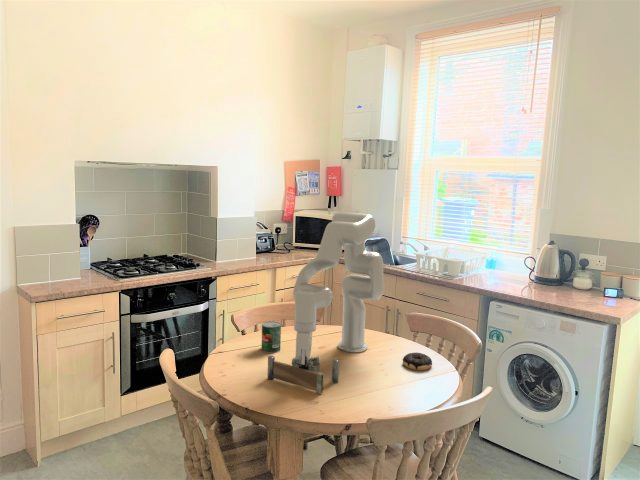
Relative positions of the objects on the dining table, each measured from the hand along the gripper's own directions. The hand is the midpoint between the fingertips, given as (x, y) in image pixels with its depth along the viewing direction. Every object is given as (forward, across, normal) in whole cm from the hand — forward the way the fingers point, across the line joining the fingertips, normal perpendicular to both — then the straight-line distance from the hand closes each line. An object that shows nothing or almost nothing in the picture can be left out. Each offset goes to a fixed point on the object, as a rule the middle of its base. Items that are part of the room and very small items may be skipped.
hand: (303, 375), depth 179 cm
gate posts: (+3, -3, 0) cm, 4 cm away
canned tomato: (+3, -32, -16) cm, 36 cm away
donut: (+4, -23, +43) cm, 49 cm away
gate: (+3, +3, -2) cm, 4 cm away
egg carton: (+4, -14, 0) cm, 15 cm away
